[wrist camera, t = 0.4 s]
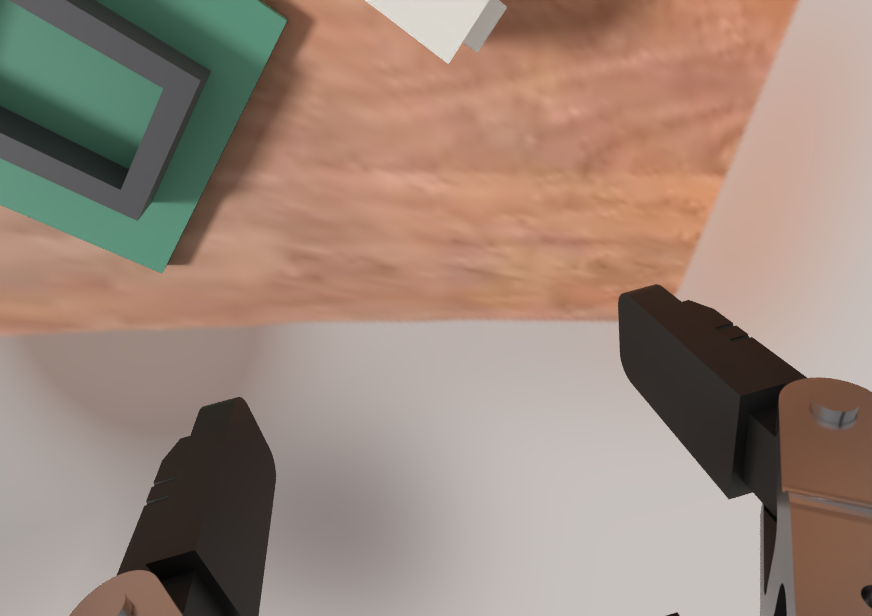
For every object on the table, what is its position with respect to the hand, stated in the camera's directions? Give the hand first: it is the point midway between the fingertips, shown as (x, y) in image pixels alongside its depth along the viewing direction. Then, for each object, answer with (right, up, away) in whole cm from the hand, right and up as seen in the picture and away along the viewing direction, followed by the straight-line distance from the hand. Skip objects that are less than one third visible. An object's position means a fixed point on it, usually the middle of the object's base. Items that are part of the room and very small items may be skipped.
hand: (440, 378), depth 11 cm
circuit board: (-18, +13, +14) cm, 27 cm away
